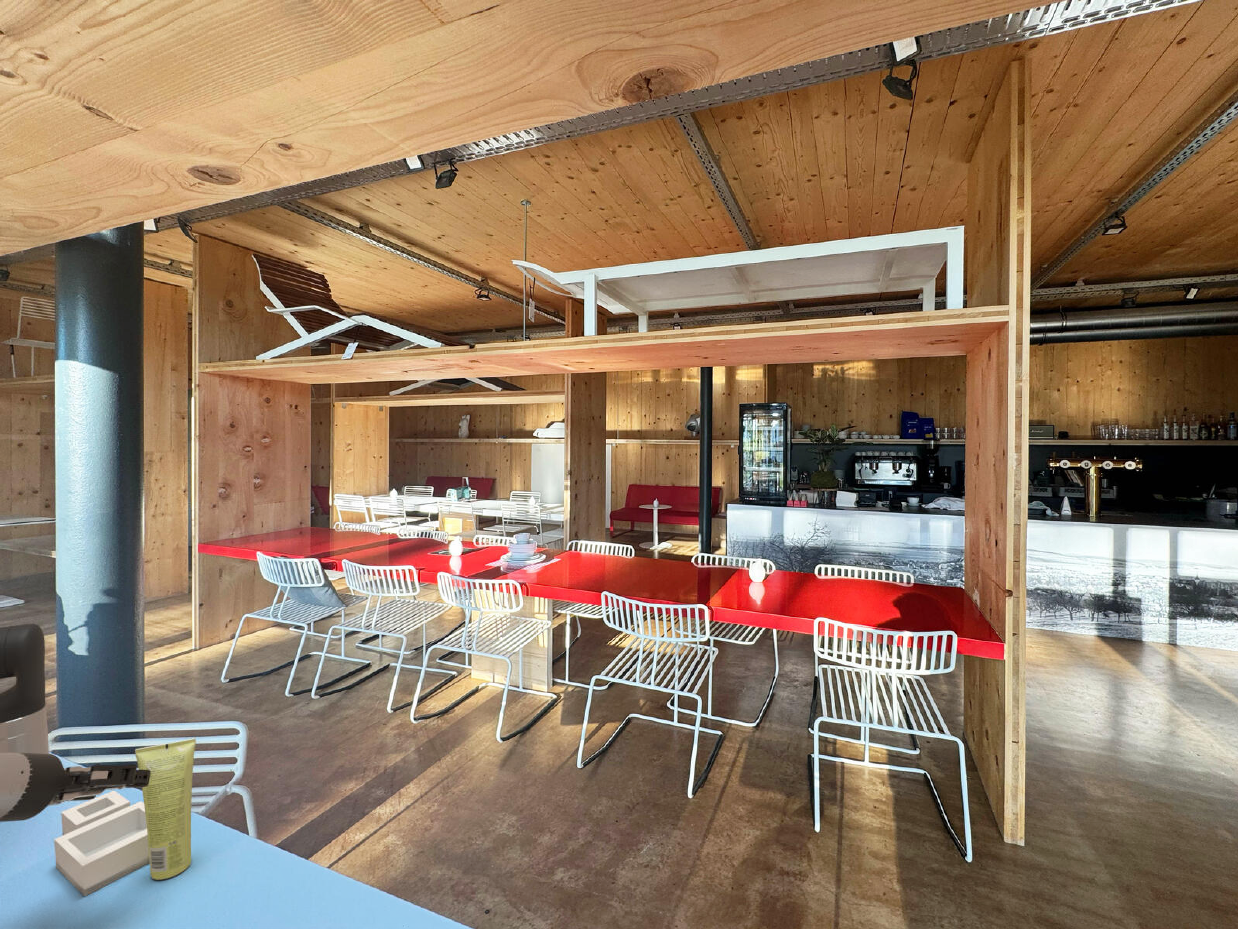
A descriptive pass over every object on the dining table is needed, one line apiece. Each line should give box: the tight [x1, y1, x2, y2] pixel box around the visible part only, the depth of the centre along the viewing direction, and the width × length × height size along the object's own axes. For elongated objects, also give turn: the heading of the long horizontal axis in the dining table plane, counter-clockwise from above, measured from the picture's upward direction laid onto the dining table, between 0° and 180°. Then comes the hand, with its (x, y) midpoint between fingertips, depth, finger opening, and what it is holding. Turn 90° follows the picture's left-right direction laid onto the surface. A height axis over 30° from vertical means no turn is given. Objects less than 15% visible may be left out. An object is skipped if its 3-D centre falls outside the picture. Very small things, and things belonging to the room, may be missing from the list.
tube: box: [134, 737, 197, 881], centre depth 89 cm, size 6×5×20 cm
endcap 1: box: [60, 790, 131, 836], centre depth 99 cm, size 7×7×4 cm
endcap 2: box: [53, 801, 150, 897], centre depth 92 cm, size 12×11×4 cm
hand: (121, 785), depth 85 cm, fingers open, 8 cm apart
